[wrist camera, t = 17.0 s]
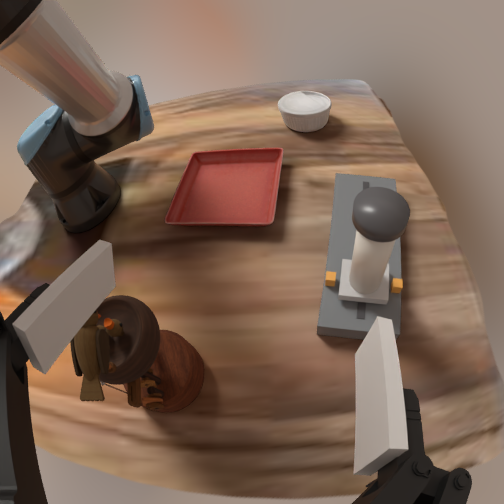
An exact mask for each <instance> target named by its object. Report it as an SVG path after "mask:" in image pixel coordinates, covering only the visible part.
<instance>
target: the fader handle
mask: <svg viewBox="0 0 504 504" xmlns="http://www.w3.org/2000/svg"><path fill="white" fill-rule="evenodd" d="M409 216H410V209H409V206H408V203H407V202H406V200H405V199H404V198H403V197H402V196H401V195H400V194H398V193H397V192H395V191H393V190H391V189H388V188H384V187H370V188H367V189H364V190H362V191H361V192H359V193H358V194H357V196H356V197H355V199H354V203H353V212H352V221H353V224H354V226H355V228H356V230H357V231H356V237H355V244H354V250H353V256H352V260H348V259H342V268H341V277H340V286H339V295H338V300H347V301H357V302H366V303H376V304H387V302H388V298H389V264H388V261H389V258H390V255H391V252H392V249H393V246H394V243H395V240H396V239H398V238H399V237H400V236H402V234H403V233H404V231H405V229H406V226H407V223H408V219H409Z"/></svg>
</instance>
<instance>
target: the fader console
mask: <svg viewBox="0 0 504 504" xmlns="http://www.w3.org/2000/svg"><path fill="white" fill-rule="evenodd" d="M370 187H384V188H388V189H391V190H393V191H395V192H397V191H396V181H395V179H390V178H381V177H371V176H361V175H350V174H338V173H336V177H335V189H334V200H333V211H332V220H331V230H330V239H329V247H328V255H327V263H326V271H325V278H324V286H323V293H322V299H321V306H320V312H319V319H318V325H317V334H318V335H327V336H335V337H344V338H353V339H362V340H364V339H365V337H366V335H367V334H368V332H369V330H370V329H371V327H372V325H373V323H374V322H375V320H376V318H377V316H379V317H383V318H387V319H391V320H392V323H393V329H394V334H395V340H396V339H397V338H398V336H399V335H400V322H401V290H402V288H403V280H402V279H401V247H400V237H399V238H398V239H396V240H395V243H394V246H393V249H392V252H391V255H390V258H389V261H388V264H389V298H388V302H387V304H376V303H366V302H357V301H347V300H338V295H339V286H340V277H341V268H342V259H348V260H352V256H353V250H354V244H355V237H356V231H357V230H356V228H355V226H354V224H353V221H352V212H353V203H354V199H355V197H356V196H357V194H358V193H359V192H361V191H362V190H364V189H367V188H370Z"/></svg>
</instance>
